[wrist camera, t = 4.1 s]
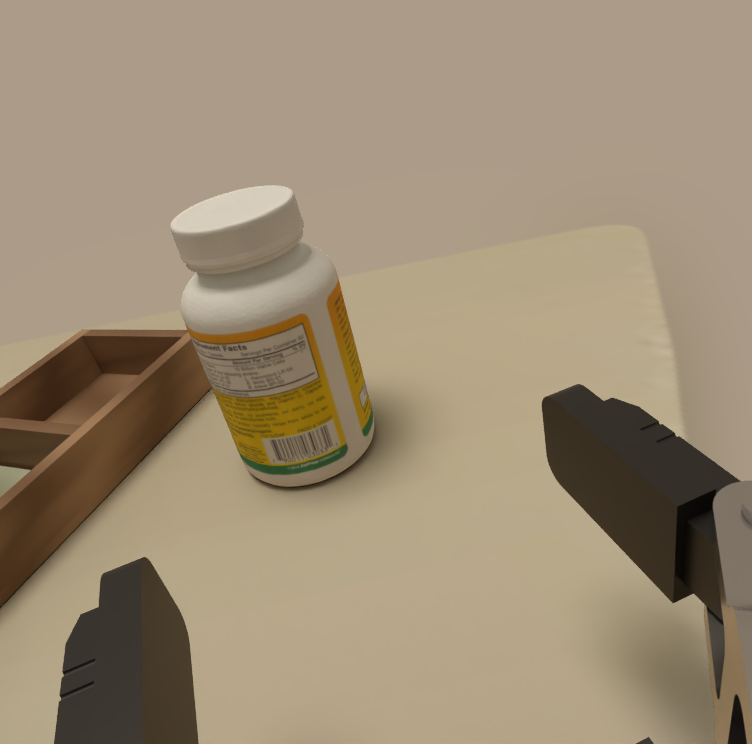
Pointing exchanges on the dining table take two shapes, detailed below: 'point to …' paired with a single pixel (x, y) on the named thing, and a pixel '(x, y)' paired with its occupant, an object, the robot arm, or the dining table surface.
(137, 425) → the wooden compartment tray
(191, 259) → the supplement bottle
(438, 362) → the dining table surface
